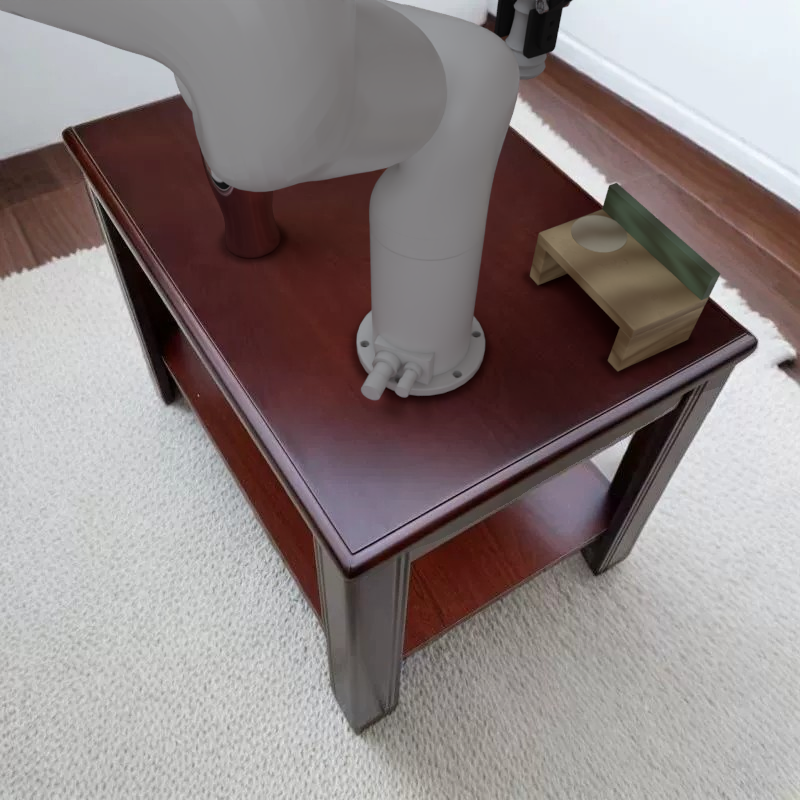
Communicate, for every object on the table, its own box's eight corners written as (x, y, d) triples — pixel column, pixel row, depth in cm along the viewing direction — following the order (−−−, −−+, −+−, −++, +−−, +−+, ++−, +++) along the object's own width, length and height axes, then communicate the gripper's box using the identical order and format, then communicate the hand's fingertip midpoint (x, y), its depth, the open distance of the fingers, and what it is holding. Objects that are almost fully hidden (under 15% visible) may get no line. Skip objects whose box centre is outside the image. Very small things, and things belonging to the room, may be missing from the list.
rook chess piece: (509, 52, 69) (522, -40, 63) (552, 65, 68) (570, -27, 61) (487, 72, 67) (498, -22, 60) (531, 86, 65) (547, -8, 59)
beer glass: (297, 239, 82) (282, 116, 70) (249, 270, 78) (225, 148, 66) (256, 211, 84) (234, 89, 72) (208, 240, 81) (177, 118, 69)
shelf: (688, 339, 73) (720, 273, 66) (617, 372, 71) (643, 306, 64) (596, 250, 81) (616, 182, 74) (529, 276, 79) (543, 208, 71)
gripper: (453, -242, 54) (438, 14, 68) (602, -180, 45) (548, 98, 60) (534, -252, 56) (502, -3, 71) (690, -196, 48) (617, 75, 62)
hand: (524, 41), depth 65 cm, fingers closed on rook chess piece, 3 cm apart
